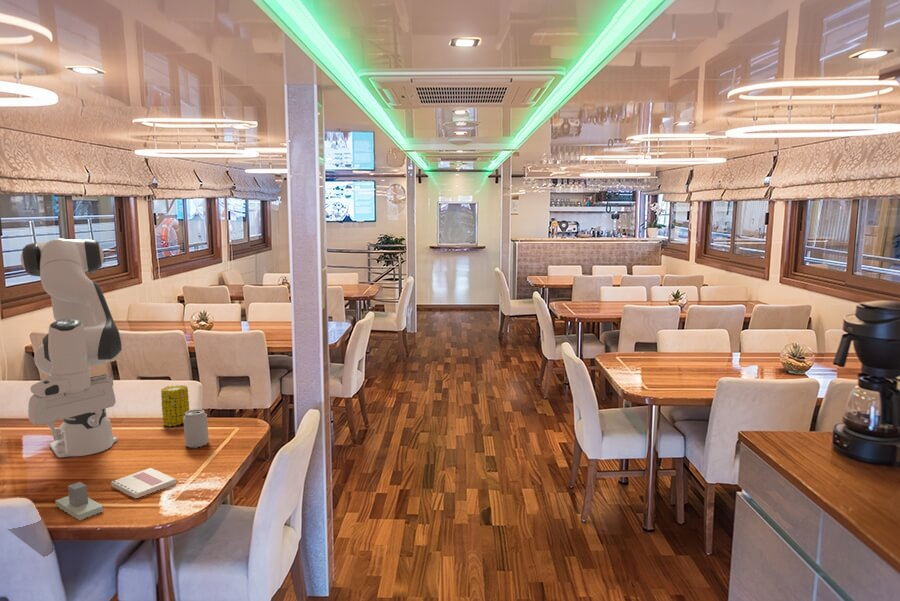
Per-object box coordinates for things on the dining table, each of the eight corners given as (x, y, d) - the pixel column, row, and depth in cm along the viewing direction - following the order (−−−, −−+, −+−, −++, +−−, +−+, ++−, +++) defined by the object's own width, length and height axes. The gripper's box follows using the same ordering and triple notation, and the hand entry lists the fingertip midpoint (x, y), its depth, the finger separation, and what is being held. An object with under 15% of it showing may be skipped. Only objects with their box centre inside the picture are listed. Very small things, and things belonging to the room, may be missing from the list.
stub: (56, 506, 165) (53, 483, 164) (79, 497, 170) (77, 475, 169) (79, 520, 157) (76, 496, 156) (103, 511, 162) (101, 488, 161)
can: (212, 441, 211) (210, 408, 210) (202, 449, 204) (199, 415, 202) (192, 440, 212) (190, 407, 210) (181, 448, 205) (178, 414, 203)
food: (162, 432, 225) (168, 424, 235) (195, 423, 227) (199, 415, 237) (149, 394, 223) (156, 388, 232) (182, 384, 225) (187, 379, 235)
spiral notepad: (111, 486, 177) (111, 481, 176) (151, 472, 186) (150, 467, 186) (136, 499, 169) (135, 493, 168) (175, 484, 178) (175, 478, 178)
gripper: (106, 370, 170) (110, 417, 172) (23, 388, 154) (28, 439, 156) (117, 374, 167) (121, 422, 169) (32, 392, 150) (38, 445, 152)
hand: (76, 431), depth 162 cm, fingers open, 8 cm apart
